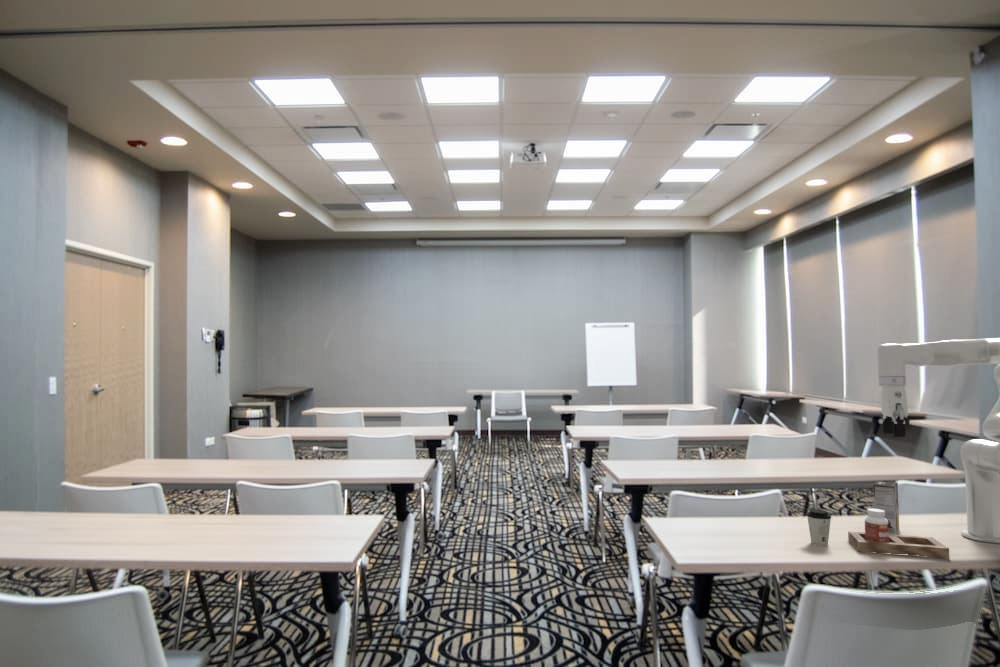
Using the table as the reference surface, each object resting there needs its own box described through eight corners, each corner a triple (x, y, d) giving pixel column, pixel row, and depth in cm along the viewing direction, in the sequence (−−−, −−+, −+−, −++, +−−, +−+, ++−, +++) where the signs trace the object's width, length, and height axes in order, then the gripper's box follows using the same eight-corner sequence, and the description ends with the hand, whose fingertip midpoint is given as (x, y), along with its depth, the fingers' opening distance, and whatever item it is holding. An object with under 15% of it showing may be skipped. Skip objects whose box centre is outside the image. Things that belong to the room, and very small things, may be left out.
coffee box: (877, 527, 208) (876, 480, 209) (899, 530, 204) (898, 482, 205) (874, 533, 200) (873, 484, 201) (897, 536, 197) (895, 486, 197)
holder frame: (932, 547, 185) (932, 537, 185) (949, 559, 173) (949, 548, 173) (848, 540, 191) (848, 531, 191) (859, 552, 180) (859, 541, 180)
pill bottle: (882, 551, 180) (881, 513, 180) (861, 545, 185) (860, 509, 185) (893, 547, 183) (892, 510, 183) (872, 542, 188) (870, 506, 189)
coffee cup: (831, 548, 183) (830, 515, 184) (806, 544, 187) (805, 512, 188) (832, 542, 189) (831, 510, 190) (808, 539, 193) (807, 507, 193)
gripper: (915, 382, 186) (917, 438, 185) (896, 381, 203) (898, 432, 202) (887, 382, 188) (889, 437, 187) (870, 381, 205) (872, 431, 204)
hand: (894, 434), depth 194 cm, fingers open, 9 cm apart
